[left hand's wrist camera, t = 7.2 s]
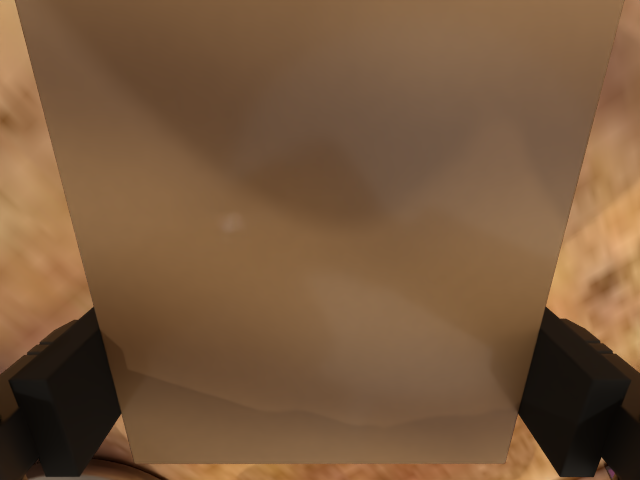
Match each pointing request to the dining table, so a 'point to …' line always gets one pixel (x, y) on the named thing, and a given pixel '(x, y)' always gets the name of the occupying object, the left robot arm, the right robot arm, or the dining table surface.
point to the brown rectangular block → (319, 213)
